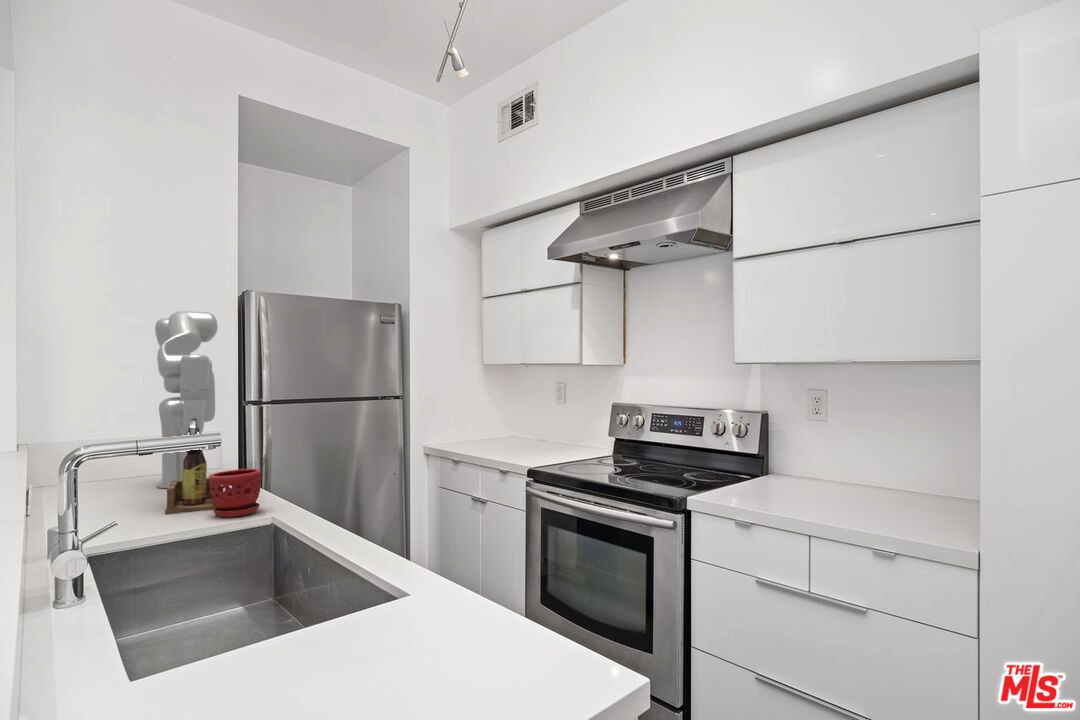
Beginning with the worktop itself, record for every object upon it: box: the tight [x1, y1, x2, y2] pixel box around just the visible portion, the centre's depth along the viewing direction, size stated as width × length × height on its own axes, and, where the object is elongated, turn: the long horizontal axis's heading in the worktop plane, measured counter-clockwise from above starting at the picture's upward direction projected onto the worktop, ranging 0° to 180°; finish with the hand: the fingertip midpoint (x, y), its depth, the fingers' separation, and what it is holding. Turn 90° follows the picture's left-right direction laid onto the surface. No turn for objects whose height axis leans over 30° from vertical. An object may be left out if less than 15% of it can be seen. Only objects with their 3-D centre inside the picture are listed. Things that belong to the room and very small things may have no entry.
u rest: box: [164, 478, 217, 515], centre depth 176 cm, size 14×14×7 cm
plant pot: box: [209, 468, 262, 518], centre depth 167 cm, size 13×13×12 cm
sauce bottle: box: [182, 449, 208, 505], centre depth 176 cm, size 6×6×20 cm
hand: (194, 452), depth 176 cm, fingers open, 9 cm apart
